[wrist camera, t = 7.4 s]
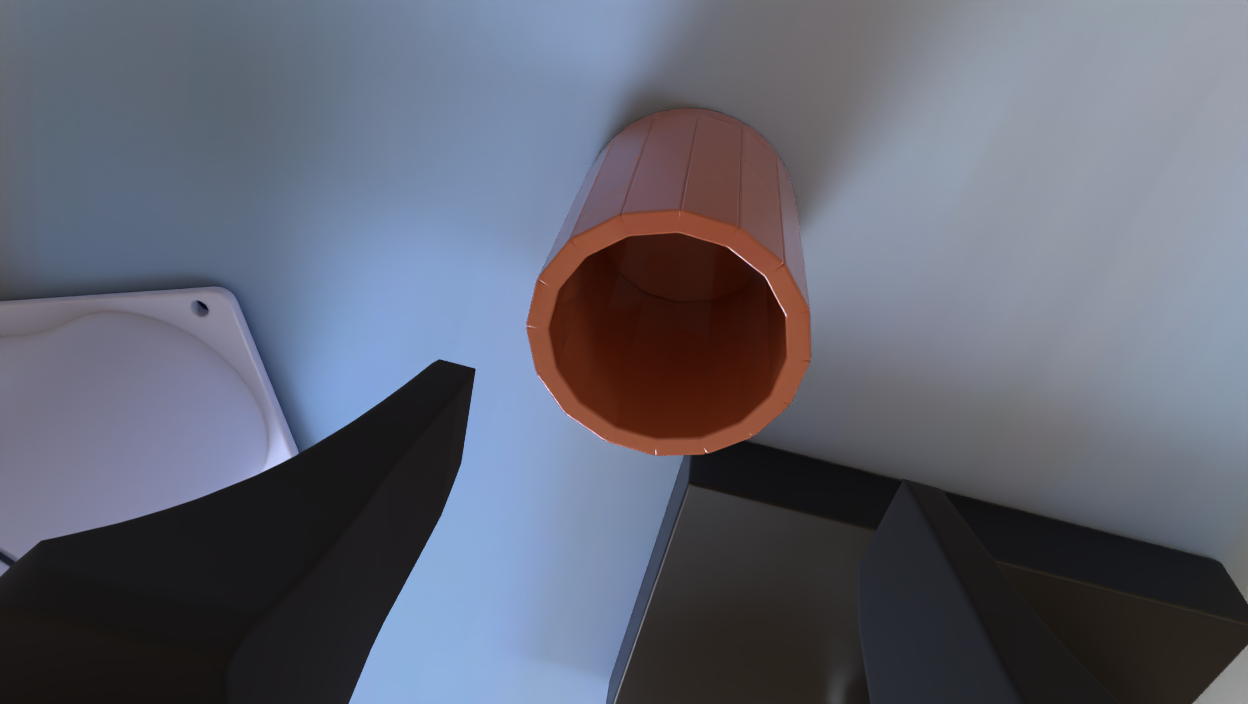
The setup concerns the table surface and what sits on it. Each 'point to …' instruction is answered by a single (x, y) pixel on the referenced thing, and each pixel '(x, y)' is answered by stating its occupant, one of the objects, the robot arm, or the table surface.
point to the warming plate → (828, 591)
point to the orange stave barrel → (676, 289)
